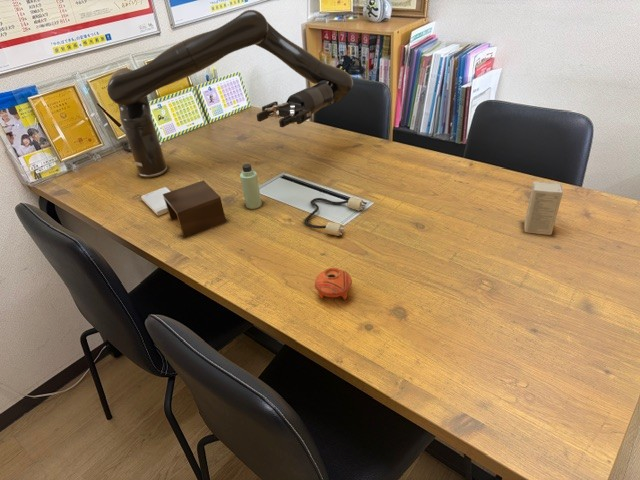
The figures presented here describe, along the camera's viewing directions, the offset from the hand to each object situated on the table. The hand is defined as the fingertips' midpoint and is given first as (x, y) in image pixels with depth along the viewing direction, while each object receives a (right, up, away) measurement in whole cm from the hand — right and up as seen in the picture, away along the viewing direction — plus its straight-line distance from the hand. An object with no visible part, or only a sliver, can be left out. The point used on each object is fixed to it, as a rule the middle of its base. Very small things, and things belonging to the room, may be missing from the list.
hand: (268, 121), depth 124 cm
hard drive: (-33, -22, +11) cm, 41 cm away
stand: (-20, -27, +1) cm, 34 cm away
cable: (+17, -27, -2) cm, 32 cm away
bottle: (-5, -23, +6) cm, 24 cm away
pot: (+17, -45, -26) cm, 55 cm away
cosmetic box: (+68, -30, -13) cm, 76 cm away
